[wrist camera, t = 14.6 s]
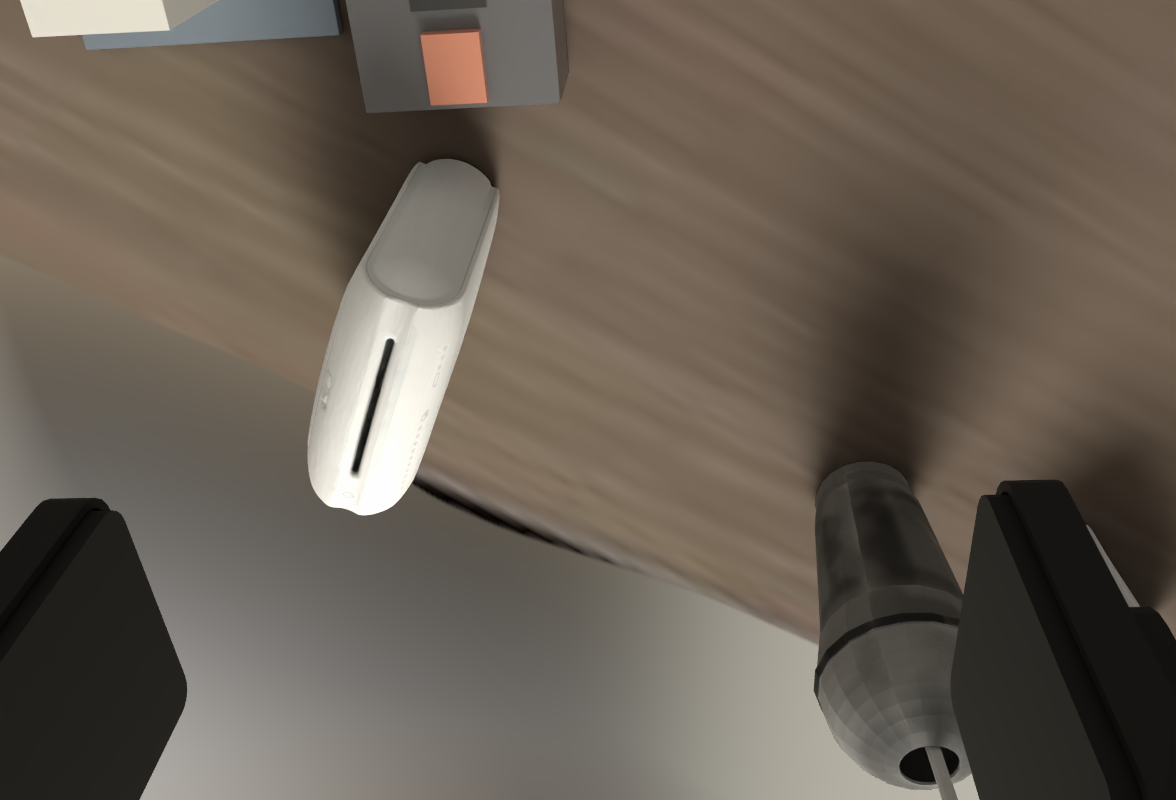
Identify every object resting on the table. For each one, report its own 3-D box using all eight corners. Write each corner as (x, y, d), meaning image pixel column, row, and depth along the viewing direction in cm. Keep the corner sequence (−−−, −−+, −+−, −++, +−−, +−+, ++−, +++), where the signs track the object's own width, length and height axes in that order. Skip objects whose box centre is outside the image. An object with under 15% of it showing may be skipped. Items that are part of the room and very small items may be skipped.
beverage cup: (773, 548, 53) (822, 934, 36) (802, 428, 49) (873, 799, 32) (918, 564, 53) (1035, 958, 36) (959, 446, 49) (1113, 826, 32)
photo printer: (451, 377, 49) (393, 555, 38) (360, 348, 48) (276, 521, 38) (515, 176, 43) (468, 319, 33) (414, 140, 43) (333, 275, 32)
